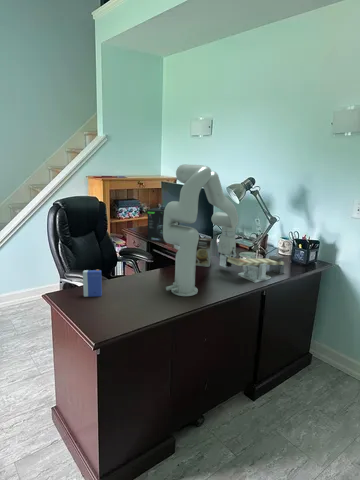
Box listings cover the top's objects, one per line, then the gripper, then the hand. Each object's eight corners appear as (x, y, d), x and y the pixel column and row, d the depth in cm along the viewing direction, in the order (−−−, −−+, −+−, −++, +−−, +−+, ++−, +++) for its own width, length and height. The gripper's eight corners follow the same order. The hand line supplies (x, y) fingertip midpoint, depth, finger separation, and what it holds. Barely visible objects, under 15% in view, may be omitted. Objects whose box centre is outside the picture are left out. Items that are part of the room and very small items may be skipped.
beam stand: (255, 282, 176) (256, 266, 174) (237, 275, 187) (238, 259, 184) (287, 274, 190) (288, 259, 188) (269, 268, 201) (270, 253, 198)
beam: (237, 267, 170) (239, 258, 169) (226, 262, 176) (228, 254, 176) (283, 266, 191) (285, 258, 190) (272, 262, 197) (273, 255, 196)
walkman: (102, 294, 156) (101, 269, 153) (101, 296, 153) (100, 271, 150) (84, 294, 155) (83, 269, 152) (83, 296, 152) (82, 271, 149)
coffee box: (194, 265, 201) (195, 239, 198) (196, 262, 207) (197, 236, 204) (209, 267, 199) (210, 240, 195) (210, 264, 205) (212, 238, 202)
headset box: (146, 240, 258) (147, 207, 252) (152, 237, 269) (153, 205, 263) (175, 243, 252) (175, 209, 246) (179, 240, 263) (180, 207, 257)
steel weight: (225, 267, 188) (226, 257, 187) (219, 265, 192) (220, 255, 191) (231, 266, 191) (232, 256, 189) (226, 264, 195) (226, 254, 193)
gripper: (213, 231, 192) (211, 262, 196) (233, 237, 178) (231, 270, 182) (223, 230, 196) (220, 260, 200) (244, 236, 183) (241, 268, 186)
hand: (225, 264), depth 191 cm, fingers closed on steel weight, 5 cm apart
